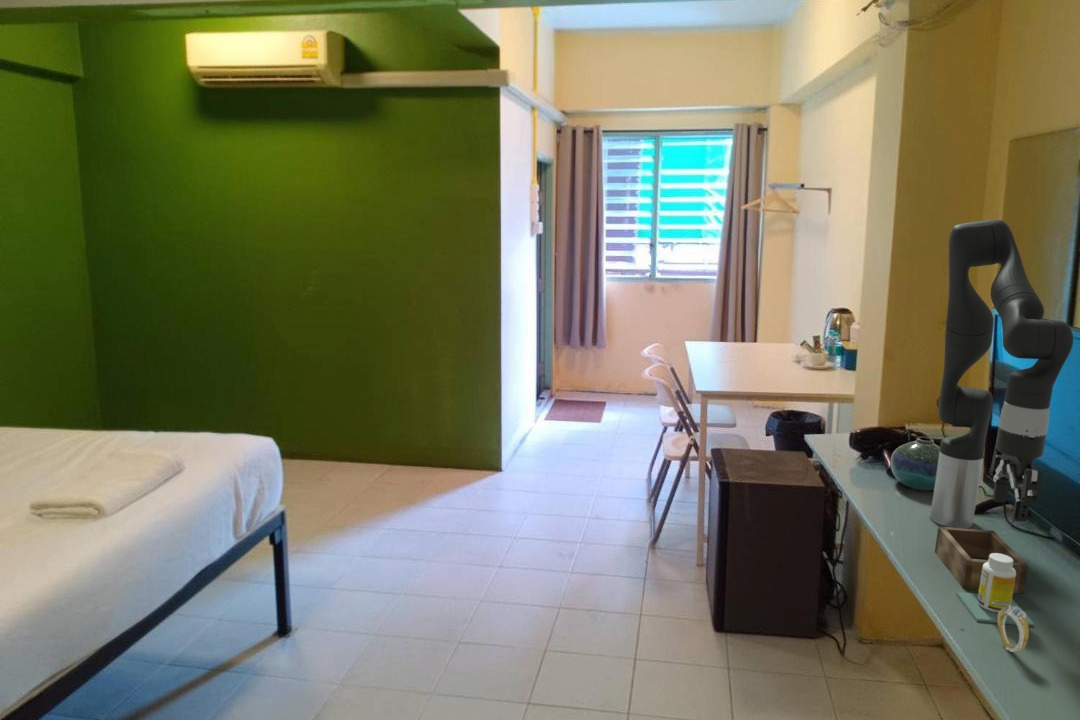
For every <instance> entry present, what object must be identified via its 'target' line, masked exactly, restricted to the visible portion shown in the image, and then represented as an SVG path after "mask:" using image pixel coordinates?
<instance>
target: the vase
mask: <svg viewBox="0 0 1080 720" xmlns="http://www.w3.org/2000/svg"><path fill="white" fill-rule="evenodd" d="M939 451H940V445H937V444H936V443H935V442H934V439H933V438H930V437H927V436H917V437H916V440H914V441H913V440H912V441H910V442H907V443H904V444H902V445H899V446H898V447H897V448H895V450H894V451H893V452H892V454H891V457H890V469H891V471H892V474H893V476H894V477H895V479H896V480H897V481H898V482H899V483H900V484H902V485H904V486H906V487H908V488H910V489H914V490H917V491H918V490H919V491H934V486H935V479H936V472H937V465H938V458H939Z"/></svg>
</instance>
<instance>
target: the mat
mask: <svg viewBox="0 0 1080 720" xmlns="http://www.w3.org/2000/svg"><path fill="white" fill-rule="evenodd" d="M955 595H956V596H957V598H958V599H959V598H960V599H959V600H960V601H961V603H962V602H963V603H962V604H963V605H964V606H966V607H965V608H966V609H967V611H968V612H969V614H971V616H972V618H973V619H974V620H975V622H979V623H980V622H982V623H990V624H991V623H993V624H998V613H996V612H991V611H989V610H986V609H984V608H983V607H981V606H980V605H979V603H978V593H975V592H961V591H956V594H955ZM1013 607H1017V608H1018V609H1019V608H1020V609H1021V611H1023V609H1022V608H1021V607H1020V606H1019V605H1018V604H1017V603H1016V601H1015V600H1014V599H1013V598H1012V602H1011V608H1013ZM1023 612H1024V611H1023ZM1021 616H1022V615H1021ZM1025 618H1026V620H1027V623H1028V627H1034V626H1035V622H1033V621H1032V620H1031V618H1030V617H1029V616H1028V615H1027V614H1026V617H1025ZM1018 620H1019V621H1020V619H1018ZM1020 623H1021V622H1020ZM1005 625H1013V626H1014V625H1016V626H1017V624H1016V623H1015V621H1014V620H1013V619H1012V618H1011V617H1010V616H1009V615H1008V616H1007V618H1006V620H1005Z"/></svg>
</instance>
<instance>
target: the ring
mask: <svg viewBox="0 0 1080 720" xmlns="http://www.w3.org/2000/svg"><path fill="white" fill-rule="evenodd" d="M1020 608H1021V607H1020ZM1020 608H1019V609H1018V608H1017V607H1013V608H1011V605H1009V609H1006V610H1001V611H999V613H998V623H997V627H998V633H999V636H1000V639H1001V642H1002V644H1003V646H1004V648H1005V651H1009V652H1011V653H1021V651H1023V650H1024V649H1025V647H1026V645H1027V643H1028V640H1029V634H1030V629H1029V627H1030V626H1028V623H1027V620H1026V618H1025V617H1026V615H1027V613H1026V612H1025V611H1021V609H1022V608H1021V609H1020ZM1008 615H1009V616H1010V617H1011V618H1012V619H1013V620H1014V621H1015V623H1016V624H1017V625H1016V626H1017V630H1018V642H1017V644H1016V646H1015V647H1014V644H1012V643H1010V641H1009V639H1008V637H1007V633H1006V624H1005V620H1006V618H1007V616H1008ZM1021 615H1022V616H1021ZM1018 619H1020V621H1019V620H1018ZM1020 622H1021V623H1020Z"/></svg>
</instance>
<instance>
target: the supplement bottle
mask: <svg viewBox="0 0 1080 720" xmlns="http://www.w3.org/2000/svg"><path fill="white" fill-rule="evenodd" d="M1012 567H1013V559H1012V558H1011V557H1009V556H1007V555H1004V554H1000V553H992V554H990V555H989V559H988V562H986V563H984V564H983V567H982V574H981V580H980V587H979V590H978V593H977V594H978V603H979V605H980V606H981V607H983V608H984V609H986V610H989V611H991V612H996V613H999V611H1001V610H1006V609H1009V605H1011V602H1012V599H1013V595H1014V593H1013V590H1014V584H1015V578H1016V571H1015V569H1014V568H1012Z"/></svg>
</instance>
